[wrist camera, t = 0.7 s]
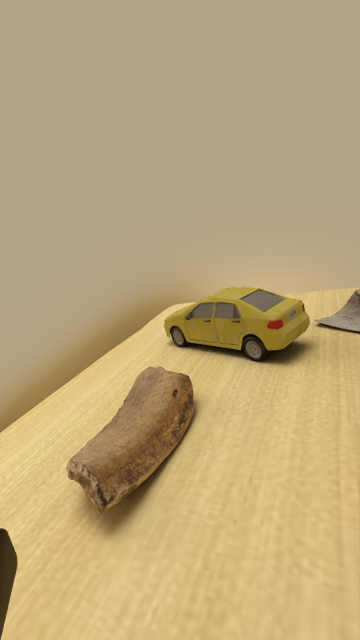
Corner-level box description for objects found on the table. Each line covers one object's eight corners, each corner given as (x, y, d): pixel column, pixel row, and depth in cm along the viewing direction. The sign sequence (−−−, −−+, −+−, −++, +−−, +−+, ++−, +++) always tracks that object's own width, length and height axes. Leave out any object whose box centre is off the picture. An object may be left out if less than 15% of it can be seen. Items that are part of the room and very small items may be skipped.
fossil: (50, 534, 31) (125, 542, 26) (15, 482, 30) (85, 479, 25) (154, 402, 49) (210, 391, 44) (134, 366, 48) (190, 350, 43)
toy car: (196, 326, 74) (187, 283, 71) (318, 340, 53) (313, 281, 51) (157, 346, 66) (146, 300, 63) (282, 372, 46) (273, 305, 43)
